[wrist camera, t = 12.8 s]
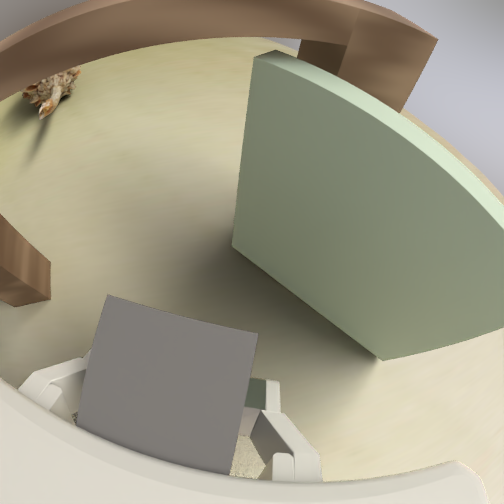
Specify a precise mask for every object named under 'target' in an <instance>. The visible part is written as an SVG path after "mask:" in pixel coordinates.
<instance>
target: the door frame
mask: <svg viewBox="0 0 504 504" xmlns="http://www.w3.org/2000/svg"><path fill="white" fill-rule="evenodd" d="M223 37H277V38H292V39H301V44H300V48H299V52H298V56H297V58H298V59H300V60H303V61H305V62H307V63H309V64H312V65H314V66H316V67H318V68H320V69H322V70H325V71H327V72H329V73H331V74H333V75H335V76H337V77H339V78H341V79H342V80H344V81H346V82H348V83H350V84H352V85H354V86H355V87H357V88H359V89H361V90H362V91H364V92H366V93H368V94H369V95H371V96H373V97H374V98H376V99H378V100H379V101H381V102H382V103H384V104H386V105H387V106H389V107H390V108H392V109H393V110H395V111H396V112H398V113H400V112H401V110H402V108H403V106H404V105H405V102H406V101H407V99H408V97H409V95H410V94H411V92H412V90H413V88H414V86H415V84H416V82H417V81H418V79H419V77H420V75H421V73H422V71H423V69H424V67H425V65H426V63H427V61H428V59H429V57H430V55H431V53H432V51H433V49H434V47H435V45H436V43H437V41H438V39H437V38H435V37H434V36H432V35H431V34H430V33H428V32H427V31H425V30H424V29H422V28H421V27H419V26H417V25H416V24H414V23H413V22H411V21H409V20H408V19H406V18H404V17H402V16H401V15H399V14H397V13H395V12H393V11H392V10H389V9H386V8H384V7H381V6H379V5H376V4H373V3H370V2H367V1H364V0H89V1H86V2H83V3H80V4H77V5H75V6H72V7H69V8H66V9H64V10H61V11H59V12H57V13H55V14H52V15H50V16H47V17H45V18H43V19H41V20H39V21H37V22H35V23H33V24H31V25H29V26H27V27H25V28H23V29H21V30H19V31H17V32H16V33H14V34H12V35H10V36H9V37H7V38H5V39H4V40H2V41H0V101H2V100H4V99H6V98H7V97H9V96H11V95H13V94H15V93H17V92H19V91H20V90H22V89H24V88H26V87H28V86H31V85H33V84H35V83H37V82H39V81H41V80H43V79H46V78H48V77H50V76H53V75H55V74H58V73H60V72H63V71H65V70H68V69H70V68H73V67H76V66H79V65H82V64H85V63H88V62H91V61H94V60H97V59H100V58H104V57H107V56H111V55H114V54H118V53H122V52H126V51H130V50H135V49H139V48H144V47H149V46H154V45H160V44H166V43H172V42H180V41H187V40H197V39H208V38H223ZM50 266H51V262H50V261H49V260H48V259H47V258H45V257H44V256H43V255H42V254H41V253H40V252H39V251H38V250H36V249H35V248H34V247H33V246H32V245H31V244H30V243H29V242H28V241H27V240H26V239H25V238H24V237H23V236H22V235H21V234H20V233H19V232H18V231H17V230H16V229H15V228H14V227H13V226H12V225H11V224H10V223H9V222H8V221H7V220H6V219H5V218H4V217H3V216H2V215H1V214H0V300H2V301H4V302H6V303H8V304H10V305H12V306H14V307H18V306H22V305H27V304H31V303H36V302H40V301H45V300H49V299H51V291H50Z"/></svg>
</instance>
